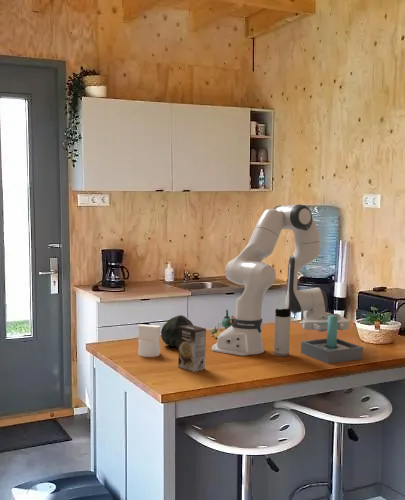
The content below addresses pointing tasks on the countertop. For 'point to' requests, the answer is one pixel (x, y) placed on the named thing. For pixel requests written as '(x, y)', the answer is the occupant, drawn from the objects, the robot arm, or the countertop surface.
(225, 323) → the frog figurine
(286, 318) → the travel mug
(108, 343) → the countertop surface
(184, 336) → the coffee box
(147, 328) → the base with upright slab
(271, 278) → the robot arm
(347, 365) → the countertop surface
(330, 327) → the peg
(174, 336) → the squash
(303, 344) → the box
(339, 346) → the plate
